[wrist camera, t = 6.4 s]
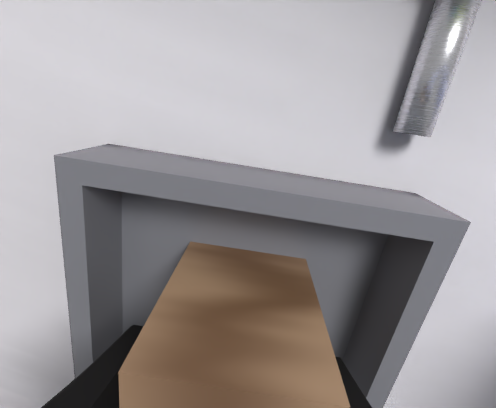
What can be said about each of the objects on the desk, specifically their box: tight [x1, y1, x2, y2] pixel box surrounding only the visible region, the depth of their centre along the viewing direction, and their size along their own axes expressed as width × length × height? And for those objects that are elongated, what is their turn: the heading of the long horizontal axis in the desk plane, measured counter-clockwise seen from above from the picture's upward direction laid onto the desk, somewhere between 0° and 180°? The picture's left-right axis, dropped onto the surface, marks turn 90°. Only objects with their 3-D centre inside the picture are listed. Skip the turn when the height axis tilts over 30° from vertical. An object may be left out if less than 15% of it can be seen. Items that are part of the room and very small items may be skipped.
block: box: [118, 241, 350, 408], centre depth 9 cm, size 5×5×6 cm
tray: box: [54, 144, 471, 408], centre depth 11 cm, size 13×13×3 cm
